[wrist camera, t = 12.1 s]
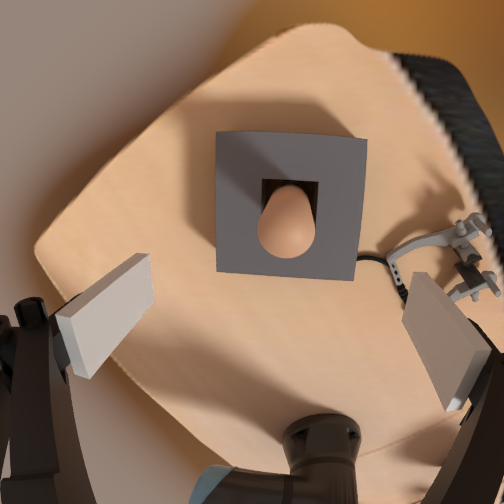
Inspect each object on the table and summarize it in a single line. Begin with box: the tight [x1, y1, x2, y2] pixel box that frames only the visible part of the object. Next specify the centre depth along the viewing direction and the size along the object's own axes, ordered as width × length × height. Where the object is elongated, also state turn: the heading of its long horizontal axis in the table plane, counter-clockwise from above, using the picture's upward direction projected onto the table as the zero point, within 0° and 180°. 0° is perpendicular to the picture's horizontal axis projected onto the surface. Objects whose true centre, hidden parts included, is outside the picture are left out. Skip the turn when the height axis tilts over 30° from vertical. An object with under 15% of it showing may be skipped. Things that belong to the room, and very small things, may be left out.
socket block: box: [216, 131, 367, 281], centre depth 35 cm, size 16×16×5 cm
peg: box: [257, 181, 315, 258], centre depth 30 cm, size 4×4×15 cm
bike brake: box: [356, 213, 501, 305], centre depth 35 cm, size 14×7×20 cm
